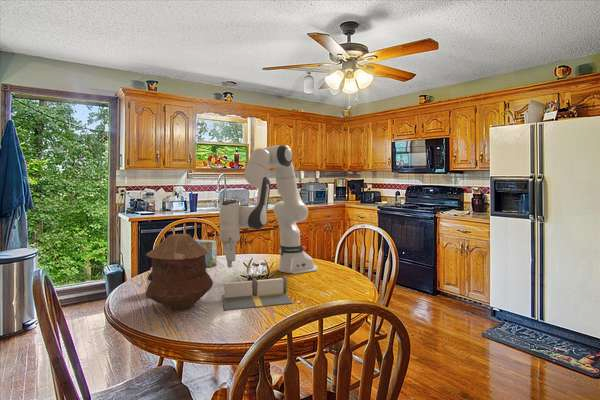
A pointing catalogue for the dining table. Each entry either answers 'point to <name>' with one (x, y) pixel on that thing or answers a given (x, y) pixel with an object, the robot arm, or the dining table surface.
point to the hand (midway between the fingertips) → (229, 266)
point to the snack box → (209, 251)
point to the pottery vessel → (178, 273)
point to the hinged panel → (238, 289)
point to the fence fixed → (269, 286)
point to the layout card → (255, 301)
